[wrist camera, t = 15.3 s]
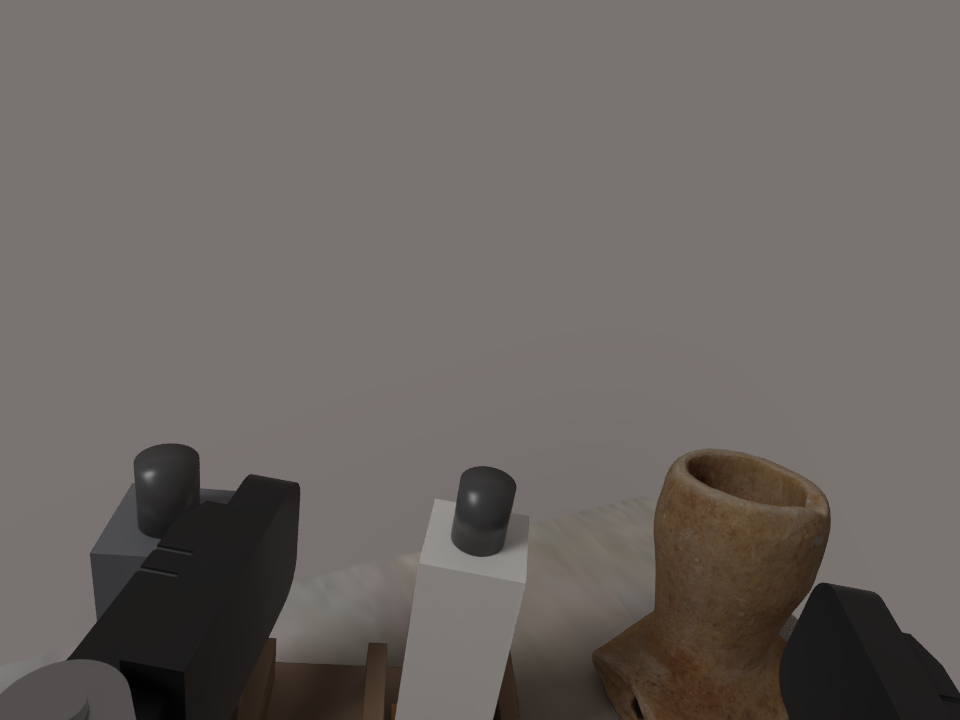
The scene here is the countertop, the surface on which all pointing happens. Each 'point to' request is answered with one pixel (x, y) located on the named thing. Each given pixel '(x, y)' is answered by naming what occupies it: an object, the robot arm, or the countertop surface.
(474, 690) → the white square bottle
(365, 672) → the comb rack
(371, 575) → the countertop surface
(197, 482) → the grey square bottle
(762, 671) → the stone cup
